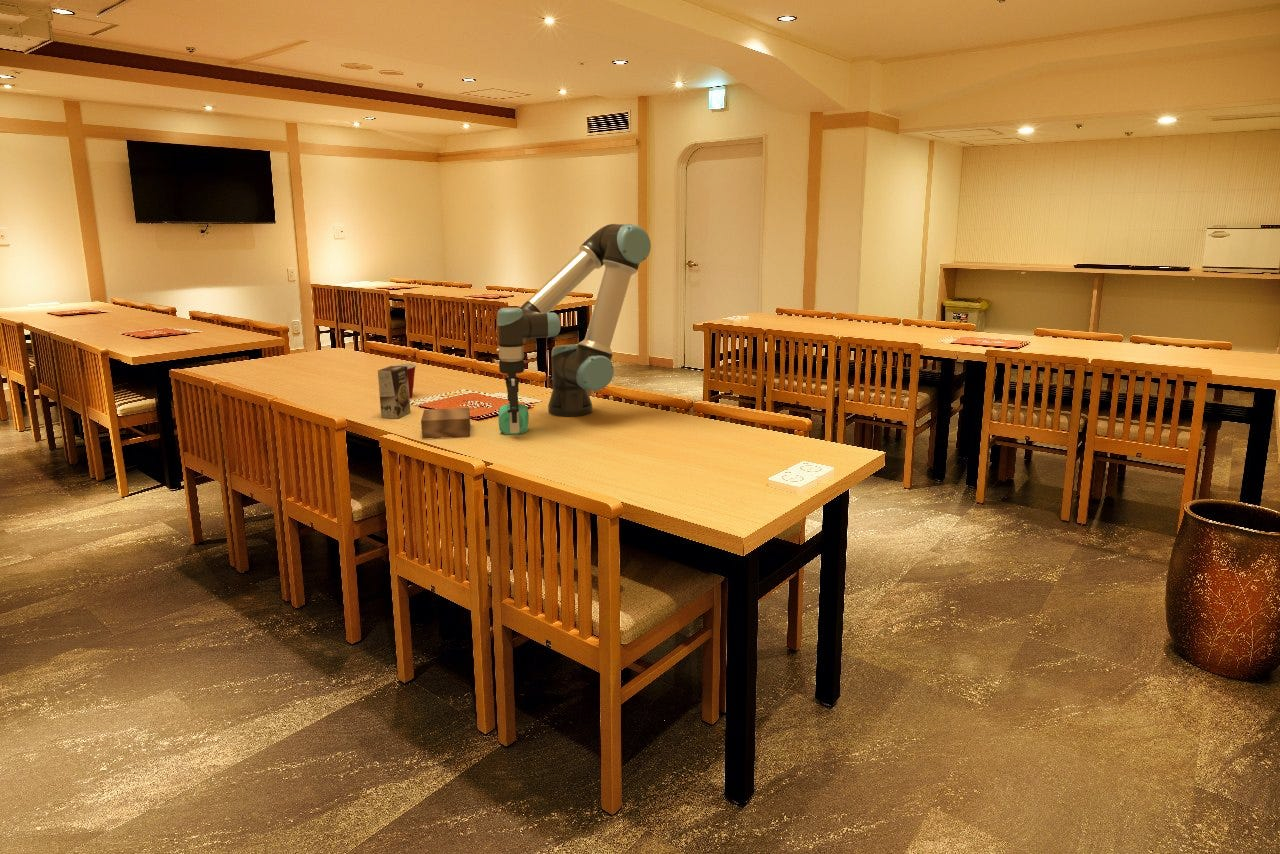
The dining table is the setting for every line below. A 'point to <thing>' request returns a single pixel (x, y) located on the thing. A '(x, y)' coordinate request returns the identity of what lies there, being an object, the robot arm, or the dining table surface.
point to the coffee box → (394, 391)
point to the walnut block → (446, 423)
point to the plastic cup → (409, 375)
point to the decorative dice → (505, 419)
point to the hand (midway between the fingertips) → (513, 427)
